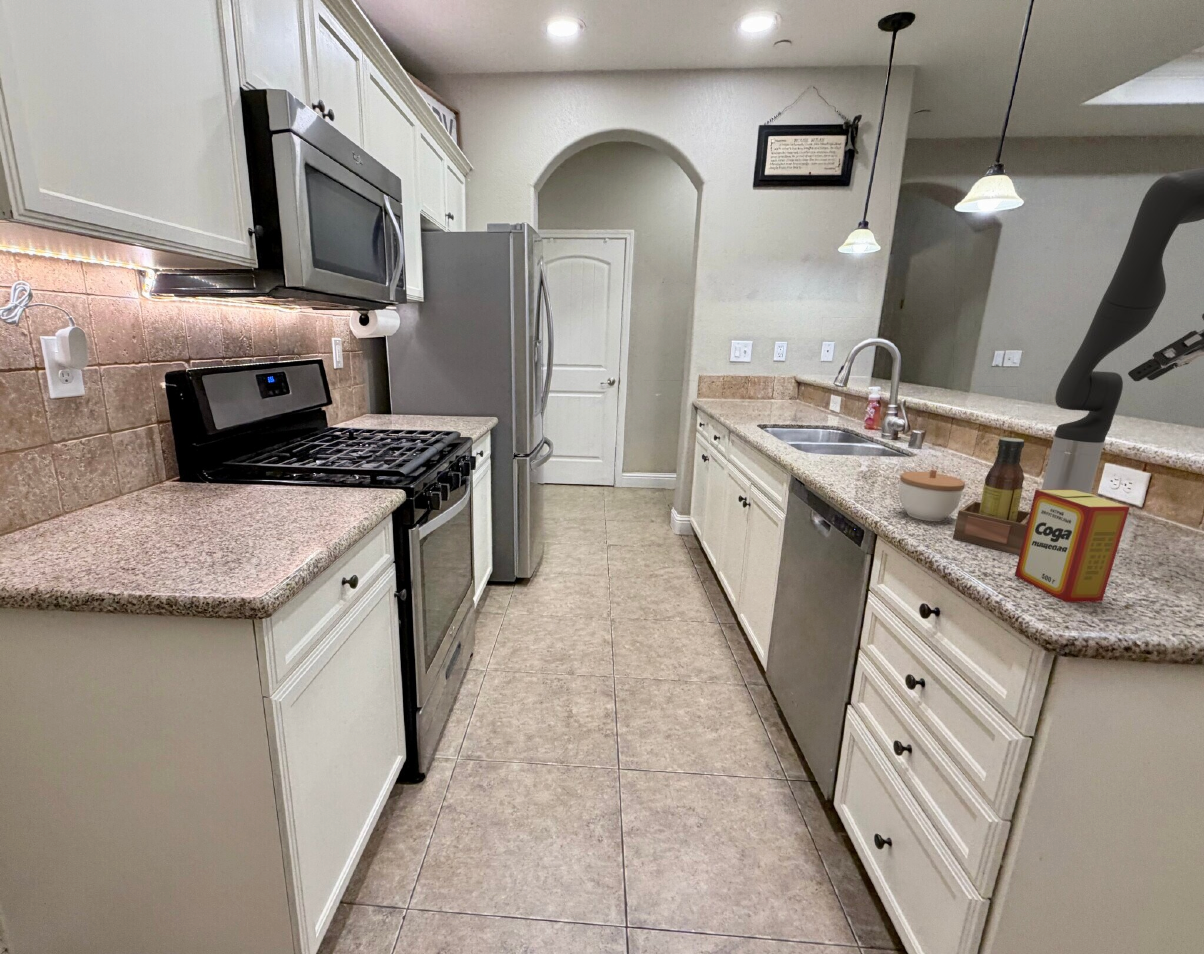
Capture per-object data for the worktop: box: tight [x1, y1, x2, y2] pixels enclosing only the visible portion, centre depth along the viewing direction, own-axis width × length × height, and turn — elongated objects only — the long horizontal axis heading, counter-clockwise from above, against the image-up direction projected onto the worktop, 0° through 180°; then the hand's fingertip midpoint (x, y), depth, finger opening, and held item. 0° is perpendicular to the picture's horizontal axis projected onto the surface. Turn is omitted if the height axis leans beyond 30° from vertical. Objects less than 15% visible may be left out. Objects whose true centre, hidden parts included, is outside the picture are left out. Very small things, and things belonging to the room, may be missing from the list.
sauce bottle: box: [979, 436, 1025, 522], centre depth 108 cm, size 7×6×20 cm
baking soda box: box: [1014, 489, 1131, 603], centre depth 88 cm, size 10×6×16 cm
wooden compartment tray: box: [952, 500, 1030, 556], centre depth 106 cm, size 11×21×6 cm, turn 43°
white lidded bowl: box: [898, 468, 966, 522], centre depth 123 cm, size 13×13×11 cm
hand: (1139, 377), depth 99 cm, fingers open, 8 cm apart
